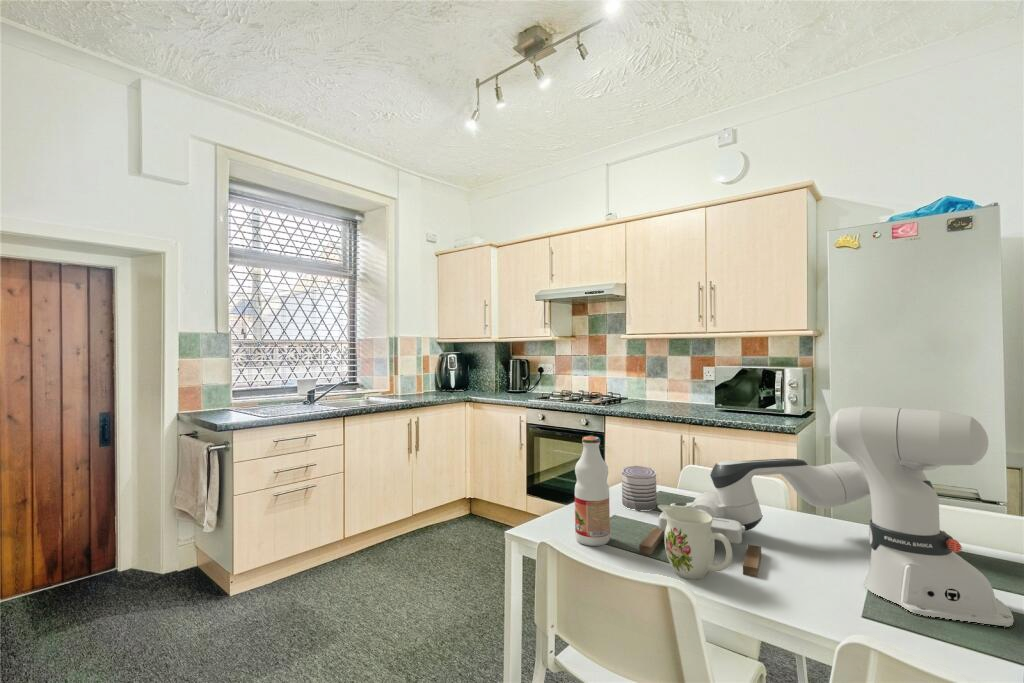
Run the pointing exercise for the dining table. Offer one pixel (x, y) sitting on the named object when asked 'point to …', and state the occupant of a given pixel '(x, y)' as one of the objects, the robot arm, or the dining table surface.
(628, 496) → the can
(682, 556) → the pitcher
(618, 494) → the dining table surface
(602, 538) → the fruit juice
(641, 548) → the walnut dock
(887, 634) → the dining table surface
